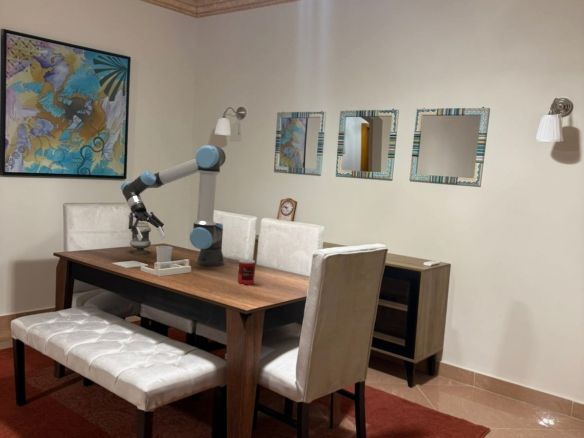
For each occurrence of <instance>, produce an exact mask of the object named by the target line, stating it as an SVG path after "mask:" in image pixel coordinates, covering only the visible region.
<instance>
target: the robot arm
mask: <svg viewBox="0 0 584 438" xmlns="http://www.w3.org/2000/svg"><path fill="white" fill-rule="evenodd" d="M226 158H227V157H226V153H225V150H224V149H222V148H221V147H219V146H215V145H208V144H207V145H203V146H200V148H198V149H197V151H196V152H195V158H193V159H190V160H188V161H185V162H182V163H179V164H177V165H174V166H171V167H169V168H167V169H163V170H161V171H159V172H156V173H153V172H151V170H145V171H144V172H142V173H141V174H140V175H139V176H137V178H135V179H134V180H133V181H132V180H126V182H125V181H123V183H122V184H121V185H120V190H121V192H122V195H123V196H124V199H125V201H126V202H127V205H128V207H129V209H130V211H131V212H129V214H128V230H130V229H132V231H134V233H135V235H137V237H138V239H139V241H141V239H142V238H143V237H142V235H141V233H140V230H139V228H138V227H137V228H136V226H137V224H138V222H147V223H148V224H151V225H152V226H154V227H155V228H156V231H157V232H158V234H159V237H160V238H161V239H160V240H164V238H165V237H166V235H165V233H164V229H163V226H165V224H164V223H163V222H162V221H161V220H160V218H158V217H157V216H156V215H155V213H154V212H153V211H150V212H148V210H147V206H146V205H145V204H144V201H143V198H142V197H141V194H142V193H143V192H144V191H146V190H147V189H158V188H161V187H162V186H165V185H166V184H169V183H172V182H175V181H177V180H180V179H183V178H186V177H189V176H191V175H194V174H197V173H198V174H199V183H198V185H199V186H198V199H197V209H196V210H197V213H196V219H195V221H193V227H192V230H191V232H190V234H189V241H190V244H191V245H192V246H193V247H194V248H196V249H198V250H199V252H198V255H197V258H196V264H197V265H200V266H205V267H206V266H208V267H211V266H212V267H220V266H224V264H225V258H224V254H223V237H224V236H223V235H224V225H223V224H222V223H219V222H215V221H214V216H215V202H216V201H215V200H216V188H217V187H216V185H217V176H218V175H219V174H220V172H221V167H222V166H223V165H224V164H225V163H226ZM134 218H135V219H136V220H135V221H134ZM134 222H135V223H134ZM133 223H134V226H133Z"/></svg>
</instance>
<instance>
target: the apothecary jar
mask: <svg viewBox="0 0 584 438" xmlns="http://www.w3.org/2000/svg"><path fill="white" fill-rule="evenodd" d="M134 223H135V221H133V226H134ZM137 227H138V228H139V230H140V233H141V235H142V237H143V238H142V239H141V241H139V239H138V237H137V235H135V233H134V231H132V229H129V231H130V232H131V240H130V241H129V245H130V246H131V247H132V248H134V250H132V251H131V254H133V253H134V254H135V255H146V254H149V250H145V249H146V248H149V247H151V245H152V242H151V240H150V238H149V237H150V232H151V231H152V228H151V227H150V226H149V222H146V221H139V222H138V224H137V226H136V228H137ZM134 254H133V255H134Z"/></svg>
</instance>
